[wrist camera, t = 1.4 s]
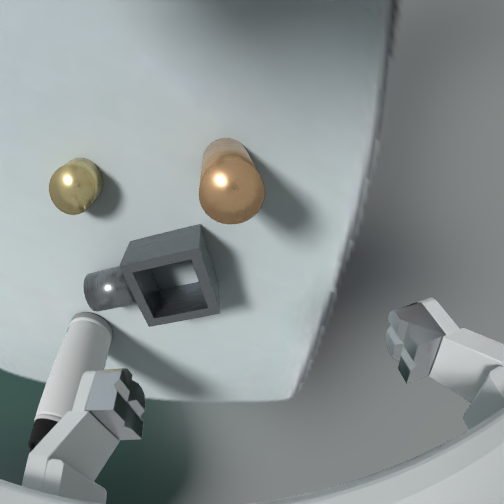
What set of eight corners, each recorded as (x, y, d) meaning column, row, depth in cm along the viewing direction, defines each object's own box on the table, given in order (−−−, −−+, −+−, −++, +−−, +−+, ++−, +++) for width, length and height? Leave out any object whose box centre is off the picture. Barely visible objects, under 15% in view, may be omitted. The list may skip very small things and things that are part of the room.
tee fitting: (85, 253, 32) (70, 277, 28) (200, 224, 32) (198, 247, 28) (112, 306, 36) (102, 334, 32) (218, 285, 36) (220, 313, 32)
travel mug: (62, 316, 36) (13, 442, 19) (98, 306, 36) (55, 446, 19) (85, 347, 39) (52, 468, 22) (121, 340, 39) (95, 473, 22)
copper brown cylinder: (198, 143, 28) (191, 171, 19) (243, 133, 28) (258, 156, 19) (208, 186, 30) (207, 230, 22) (252, 176, 30) (269, 216, 22)
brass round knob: (55, 166, 27) (42, 175, 24) (94, 151, 27) (83, 158, 24) (70, 208, 29) (59, 220, 27) (109, 196, 29) (100, 206, 27)
